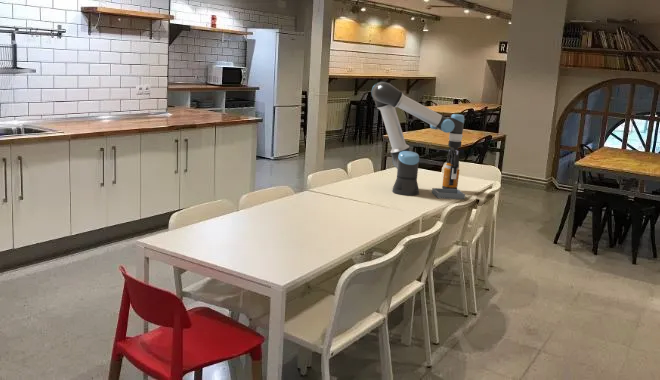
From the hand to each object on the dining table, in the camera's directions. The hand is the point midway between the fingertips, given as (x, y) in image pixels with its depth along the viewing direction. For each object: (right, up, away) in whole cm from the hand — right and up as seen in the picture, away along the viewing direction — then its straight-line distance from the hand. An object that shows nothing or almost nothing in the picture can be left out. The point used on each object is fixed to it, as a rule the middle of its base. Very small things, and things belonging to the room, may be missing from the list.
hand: (451, 177), depth 371 cm
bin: (-5, -11, -16) cm, 20 cm away
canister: (-1, -8, +1) cm, 8 cm away
